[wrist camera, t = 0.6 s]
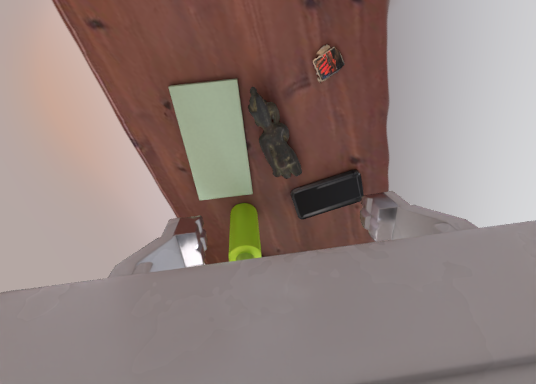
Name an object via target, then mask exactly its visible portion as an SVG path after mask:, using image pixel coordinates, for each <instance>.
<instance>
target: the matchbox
mask: <svg viewBox="0 0 536 384" xmlns="http://www.w3.org/2000/svg"><path fill="white" fill-rule="evenodd" d="M328 48H330V46H329V45H327V44H326V46H323V47H322V48H321V49H320V50H319V51H318V52H317V55H318V54H319V55H320V54H321V56H318V58H316V59H314V60H313V64H314V66H315V69H316V70H317V74H318V75H319V77H320V79H319V77H317V78H318V79H317V80H318V81H319V82H320V83H321V81H325V80H326V79H327V78H329V77H330V76H332V75H333V74H335V73H337V72H338V71H339V70H340V69H341V68H342V66H343V65H344V61H343V58H342V56H341V54H340V53H339V51H338V50H337V49H336V48H335V47H333V48H332V49H329V50H328ZM327 50H328V51H327ZM325 51H326V52H325ZM324 52H325V53H324ZM321 84H322V83H321Z"/></svg>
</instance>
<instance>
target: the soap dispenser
mask: <svg viewBox="0 0 536 384" xmlns="http://www.w3.org/2000/svg"><path fill="white" fill-rule="evenodd" d="M261 257H262V255H261V246H260V236H259V227H258V217H257V210H256V209H255V207H254V206H252V205H251V204H248V203H241V204H238V205H236V206H234V207H233V208H232V210H231V214H230V238H229V261H230V262H231V261H238V260H246V259H253V258H261Z"/></svg>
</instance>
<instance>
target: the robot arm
mask: <svg viewBox="0 0 536 384" xmlns="http://www.w3.org/2000/svg"><path fill="white" fill-rule="evenodd" d="M361 204H362V205H363V208H362V209H361V211H360V219H361V223H362V225H363V227H364V228H365V229H367V230H369V234H370V236H371V237H372V238H373V240H374V241H375V242H372V243H365V244H357V245H350V246H342V247H335V248H328V249H320V250H313V251H305V252H298V253H290V254H283V255H275V256H268V257H261V258H253V259H246V260H238V261H231V262H223V263H216V264H208V265H204V260H205V250H206V249H207V235H206V231H205V230H204V229H203V225H204V222H203V218H202V216H193V217H184V218H175V219H170V220H169V221H168V224H167V226H166V228H165V230H164V232H163V234H162V236H161V237H160V238H157V239H155V240H154V241H152V242H151V243H149V244H148V245H146V246H145V247H143V248H142V249H140V250H139V251H137V252H136V253H134V254H132V255H131V256H129V257H128V258H126V259H125V260H123V261H122V262H120V263H119V264H117V265H116V266H115V267H114V269H113V270H112V272H111V273H110V275H109V277H108V278H106V279H97V280H90V281H83V282H75V283H67V284H61V285H53V286H46V287H38V288H31V289H21V290H13V291H6V292H1V293H0V384H536V221H528V222H521V223H513V224H506V225H499V226H491V227H484V228H478V227H476V226H475V225H473V224H472V223H470V222H469V221H467V220H466V219H462V218H459V217H455V216H451V215H448V214H444V213H441V212H437V211H434V210H430V209H427V208H423V207H420V206H416V205H410V204H409V203H407V202H406V201H405V200H403V199H402V198H401V197H400V196H398V195H397V194H396V193H395V192H393V191H389V192H384V193H376V194H369V195H364V196H362V198H361ZM385 240H387V241H385ZM376 241H379V242H376ZM198 265H201V266H198ZM192 266H194V267H192Z"/></svg>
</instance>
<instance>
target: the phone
mask: <svg viewBox="0 0 536 384" xmlns="http://www.w3.org/2000/svg"><path fill="white" fill-rule="evenodd" d="M362 196H364V194H363V187H362V180H361V174H360V173H359V172H358V171H357V170H351V171H348V172H345V173H342V174H339V175H336V176H333V177H330V178H327V179H324V180H321V181H318V182H315V183H312V184H309V185H306V186H303V187H299V188H296V189H294V190H292V192H291V197H292V200H293V203H294V206H295V209H296V212H297V215H298V217H299V218H300V219H306V218H309V217H312V216H315V215H318V214H322V213H325V212H328V211H331V210H334V209H337V208H341V207H344V206H347V205H350V204H353V203H356V202H360V201H361V198H362Z"/></svg>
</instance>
